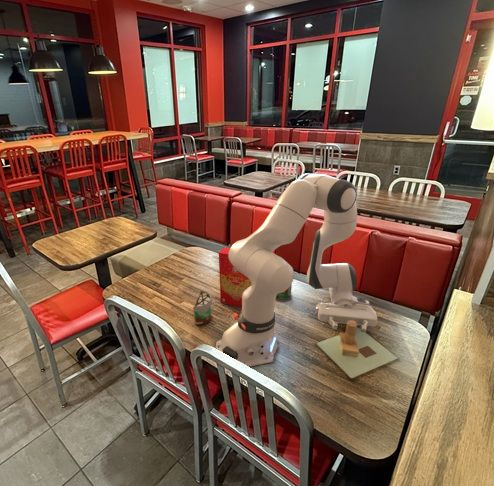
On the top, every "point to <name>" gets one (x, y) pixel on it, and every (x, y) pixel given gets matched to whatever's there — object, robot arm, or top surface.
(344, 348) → the wooden block stack
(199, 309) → the food container
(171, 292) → the top surface
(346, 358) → the mat
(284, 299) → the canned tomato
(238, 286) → the food packaging
